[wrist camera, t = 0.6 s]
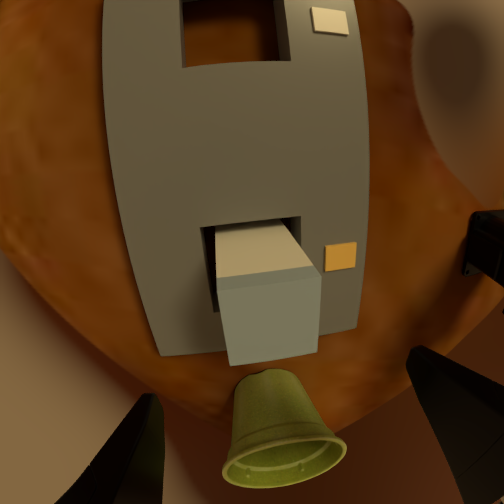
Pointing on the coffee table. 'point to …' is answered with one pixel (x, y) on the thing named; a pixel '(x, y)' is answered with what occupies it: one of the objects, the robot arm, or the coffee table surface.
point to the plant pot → (277, 434)
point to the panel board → (236, 156)
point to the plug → (265, 292)
